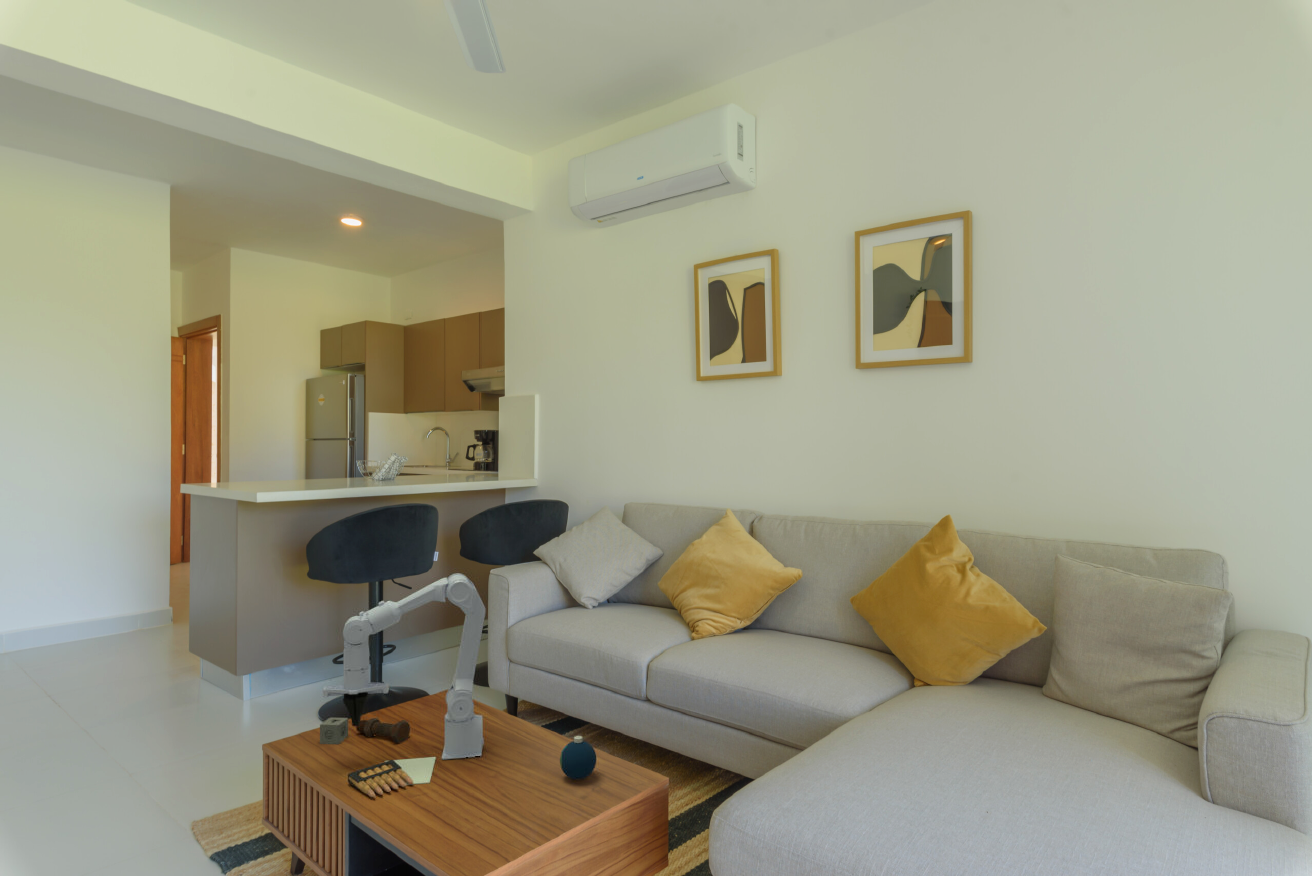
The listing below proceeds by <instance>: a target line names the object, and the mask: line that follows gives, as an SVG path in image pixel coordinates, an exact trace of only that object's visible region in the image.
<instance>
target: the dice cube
mask: <svg viewBox="0 0 1312 876" xmlns="http://www.w3.org/2000/svg"><path fill="white" fill-rule="evenodd" d="M346 737H347V738H349V718H348V717H329V718H327V719H326V720H324V721H323V722H322V723H320V724H319V744H320V745H340V744H341V743H342V742H344V741H345V740H346V739H347V738H346ZM345 738H346V739H345ZM344 739H345V740H344Z"/></svg>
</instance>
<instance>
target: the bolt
mask: <svg viewBox="0 0 1312 876" xmlns="http://www.w3.org/2000/svg"><path fill="white" fill-rule="evenodd" d="M355 728H356V729H355V730H356V731H357V732H358V733H360V734H364V735H365V736H366V737H367V736H369V737H368V738H373V737H372V736H374V735H376V736H381V737H388V738H392V741H393V742H394V743H395V744H401V743H403V742H406V741H407V739H408V738H409V736H410V733H411V727H410V723H409V722H408V721H407V720H405V719H402V720H400V721H397V722H395V723H388V722H382V721H381V720H380V719H379V718H377V717H372V718H370V719H368V720H367V719H361V720H360V724H359V726H355ZM374 737H375V736H374Z"/></svg>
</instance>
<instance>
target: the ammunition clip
mask: <svg viewBox="0 0 1312 876" xmlns="http://www.w3.org/2000/svg"><path fill="white" fill-rule="evenodd" d="M393 760H394V759H390V760H385V761H386V762H385V761H383V762H381V763H378V764H377V763H376V764H374V765H370V766H367V767H365V768H361V769H358V770H354V771H352V772H349V773H348V774H347V783H348V784H350V785H351V786H353V787H354V788H356V790H360V791H361V792H362V793H364V794H366V795H368V796H369V797H370V798H376V794H378V795H380V796H381V795H384V792H388V793H391V792H392V790H391V788H392V789H393V790H399V786H397V784H399V785H400V787H403V788H405V787H407V785H406V784H405V782H407V783H409V784H412V785H414V784H413V780H412V779H411V778H410V777H409V776H408V775H407V773H405V772H404V771H403V770H402V768H401V767H400V766H399V765H398V764H397V763H396V762H395V761H393ZM400 768H401V769H400ZM403 780H404V781H405V782H404V781H403ZM396 783H397V784H396ZM383 790H384V791H383Z"/></svg>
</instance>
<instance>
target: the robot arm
mask: <svg viewBox="0 0 1312 876" xmlns="http://www.w3.org/2000/svg"><path fill="white" fill-rule="evenodd" d="M446 599H448V601H449V602H450V603H452V604H453V605H455V606H456V607H458V608H460V610H461V611H462V612H463V613H464V614H465V616H464V621H463V626H462V627H463V628H462V633H461V639H460V644H459V650H458V656H457V659H456V660H457V661H456V665H455V666H456V667H455V670H454V676H453V679H452V682H451V685H450V688H449V689H448V690H447V692H446V694H445V703H446V706H447V712H446V713H445V715H444V746H443V750H442V754H441V760H452V759H453V760H454V759H467V758H466V757H468V758H476V757H475V756H480V757H482V755H483V754H482V753H483V746H484V745H485V744H484V743H485V742H484V740H485V739H484V736H483V732H484V731H483V730H484V729H483V727H484V726H483V725H484V724H483V723H484V722H483V721H484V720H483V715H482V714H475V712H474V711H475V710H474V708H475V705H474V700H473V694H474V693H473V692H474V678H475V673H476V666H477V661H478V656H479V650H480V644H481V639H482V632H483V628H484V622H485V617H486V610H487V609H486V607H485V604H484V603H483V600H482V599H481V596H480V594H479V592H478V590H477V588H476V587H475V584H474V583H473V582H472V580H470V579H469V578H468V577H467V576H466V575H465V574H463V573H458V572H457V573H453V574H451V575H449V576H448V577H443V578H440V579H439V580H436V581H435V582H433V583H430V584H428V585H426V586H424V587H423V588H421V589H418V590H417V591H415V592H413V593H411V594H410V595H408V596H406V597H404V598H403V599H401V600H398V601H396V602H395V601H393V600H388V601H386V602H385V600H381V601H379V602H378V605H377V606H375V607H373V608H371V609H369V610H367V611H362V610H361V612H359V613H358V614H359V615H355V616H354V615H353V616H351V617H350V618H349V619H348V620H346V622H345V624H344V627H343V630H342V636H343V639H344V641H343V647H344V649H343V684H338V685H330V686H324V688H323V689H322V697H323V698H329V697H337V696H343V699H342V701H343V704H344V706H345V707H346V709H347V711H348V714H349V717H350V720H351V723H352V724H351V725H352V727H356V726H359V724H360V721H362V719H361V718H362V714H363V710H364V707H365V704H366V702H367V699H368V697H369V695H370V694H380V693H382V694H388V693H389V691H390V690H389V689H390V688H389V686H390V684H389V683H390V682H371V681H370V647H369V636H370V635H375V634H377V633H379V632H381V631H383V630H385V629H387V628H389V627H391V626H393V625H395V624H398V623H399V622H400V620H401V617H402V616H403V615H404V614H406V613H408V612H410V611H412V610H415V609H417V608H419V607H421V606H425V604H428V603H430V602H432V601H435V602H441V603H446Z"/></svg>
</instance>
